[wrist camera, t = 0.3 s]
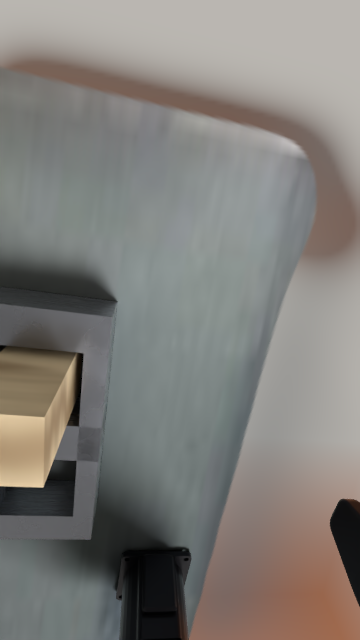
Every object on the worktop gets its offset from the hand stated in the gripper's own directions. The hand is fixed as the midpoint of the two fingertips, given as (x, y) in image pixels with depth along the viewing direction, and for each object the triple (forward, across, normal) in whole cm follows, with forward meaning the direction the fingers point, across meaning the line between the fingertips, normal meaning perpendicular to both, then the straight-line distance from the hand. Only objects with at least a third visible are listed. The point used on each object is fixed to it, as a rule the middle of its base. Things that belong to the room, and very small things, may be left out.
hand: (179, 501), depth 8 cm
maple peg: (+14, +7, +4) cm, 16 cm away
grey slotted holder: (+14, +7, +8) cm, 17 cm away
